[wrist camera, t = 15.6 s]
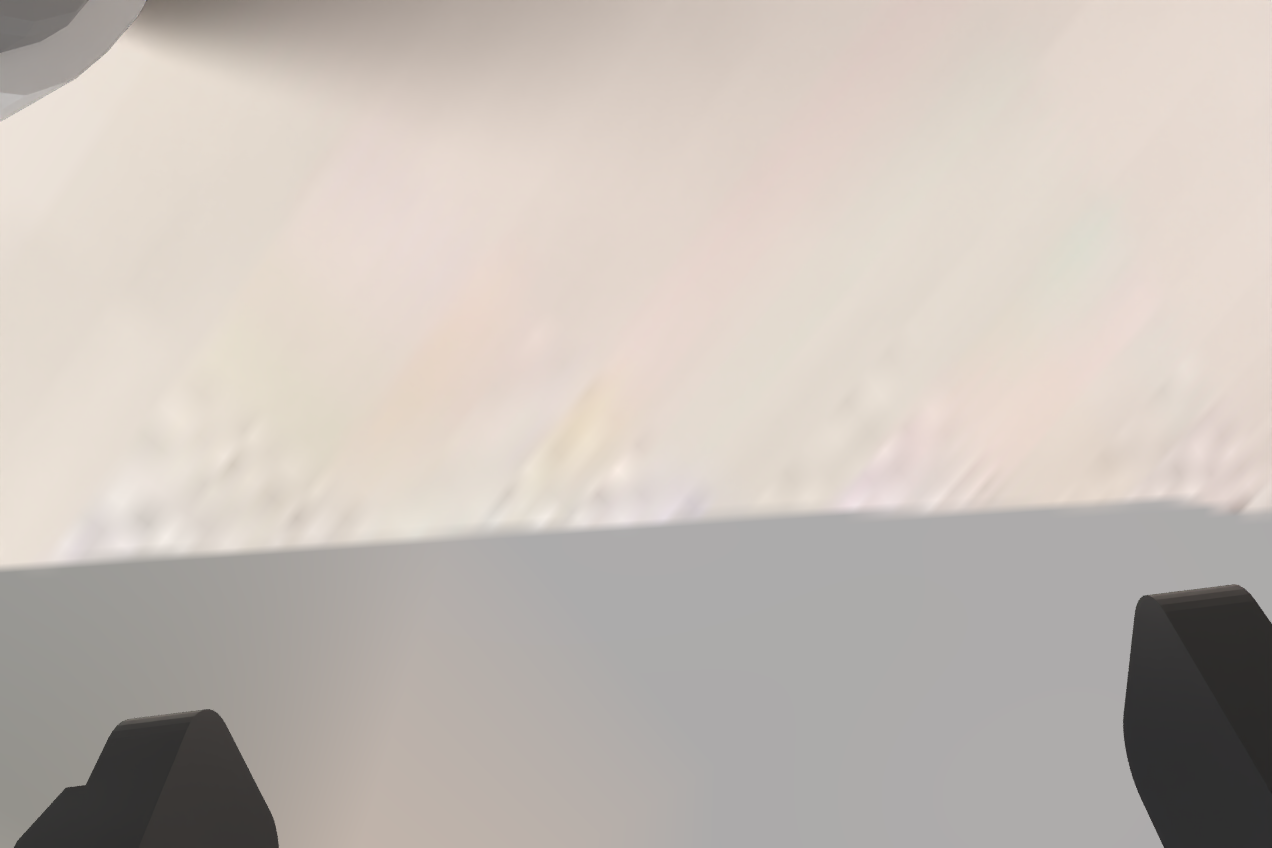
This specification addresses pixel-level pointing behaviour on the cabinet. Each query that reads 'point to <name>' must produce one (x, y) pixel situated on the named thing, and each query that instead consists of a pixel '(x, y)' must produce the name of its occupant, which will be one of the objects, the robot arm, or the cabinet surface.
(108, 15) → the alarm clock
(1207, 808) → the robot arm
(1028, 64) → the cabinet surface
